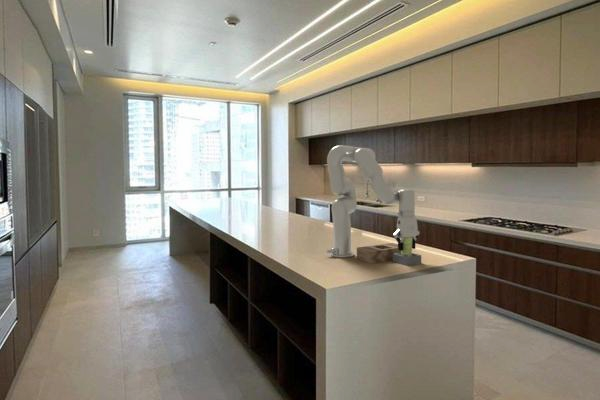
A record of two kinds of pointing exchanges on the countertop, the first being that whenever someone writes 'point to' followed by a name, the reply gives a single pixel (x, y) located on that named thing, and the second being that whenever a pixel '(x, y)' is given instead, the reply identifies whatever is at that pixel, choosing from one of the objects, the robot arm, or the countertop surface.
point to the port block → (377, 252)
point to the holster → (406, 259)
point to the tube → (407, 247)
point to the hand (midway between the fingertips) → (406, 248)
